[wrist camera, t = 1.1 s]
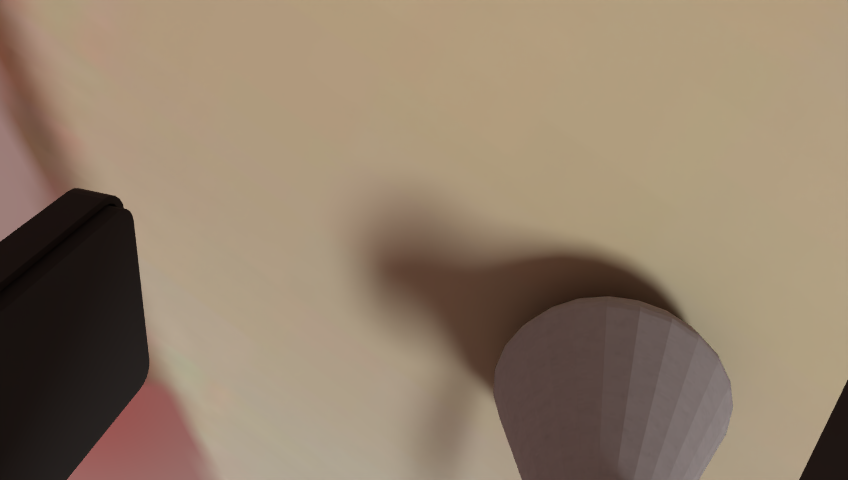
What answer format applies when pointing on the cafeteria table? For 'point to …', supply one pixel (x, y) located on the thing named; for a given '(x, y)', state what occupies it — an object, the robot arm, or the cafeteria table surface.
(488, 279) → the cafeteria table surface
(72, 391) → the robot arm
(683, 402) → the coffee pot
